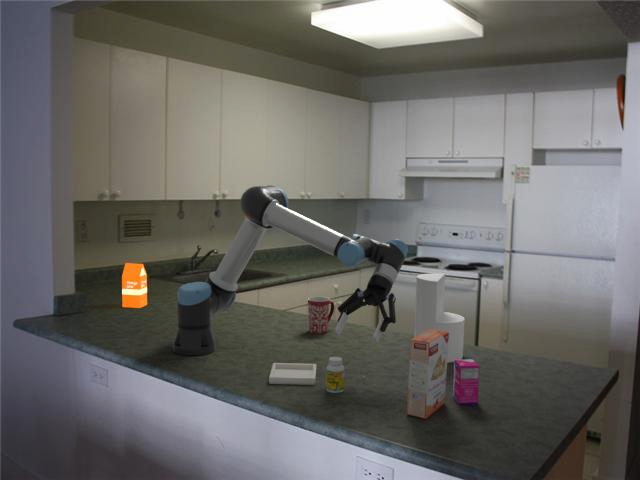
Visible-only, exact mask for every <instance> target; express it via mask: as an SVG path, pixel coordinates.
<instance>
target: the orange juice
mask: <svg viewBox="0 0 640 480" xmlns="http://www.w3.org/2000/svg"><path fill="white" fill-rule="evenodd" d="M147 278H148V275H147V271H146V269H145V266H144V263H128V262H126V263H125V264H124V268H123V271H122V275H121V288H122V290H121V295H122V299H121V300H122V305H121V306H122V308H134V309H141V308H143V307H145V306H147V305H148V279H147Z"/></svg>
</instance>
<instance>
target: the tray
mask: <svg viewBox="0 0 640 480" xmlns="http://www.w3.org/2000/svg"><path fill="white" fill-rule="evenodd" d="M270 370H271V371H270V373H269V377H268V384H270V385H274V384H275V385H303V386H304V385H305V386H309V385H310V386H316V379H317V364H316V363H300V362H299V363H297V362H296V363H292V362H291V363H290V362H289V363H287V362H273V363H272V366H271V369H270Z"/></svg>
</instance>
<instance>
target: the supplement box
mask: <svg viewBox="0 0 640 480" xmlns="http://www.w3.org/2000/svg"><path fill="white" fill-rule="evenodd" d="M452 382H453V386H452V387H453V388H452V389H453V390H452V398H453V399H454V400H455V401H456V402H457V404H458V405H459V406H461V405H463V406H468V405H470V406H471V405H474V406H475V405H476V406H477V405H479V392H480V390H479V389H480V388H479V385H480V364H478V363H477V362H476V361H475V360H474V359H473V358H471V359H470V358H469V359H466V358H465V359H461V360H454V362H453V381H452Z"/></svg>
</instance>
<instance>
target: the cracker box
mask: <svg viewBox="0 0 640 480" xmlns="http://www.w3.org/2000/svg"><path fill="white" fill-rule="evenodd" d="M448 339H449V333H448V332H445V331H439V330H433V329H430V330H428V331H426V332H424V333H423V334H421V335H419V336H417V337H415V338H414V337H413V338H411V339H410V346H409V347H410V351H409V366H408V367H409V368H408V370H409V371H408V388H407V389H408V390H407V404H406V405H407V407H406V415H408V416H412V417H415V418H419V419H424V420H427V419H428V418H429V417H430V416H431V415H433V414H434V413H435V412H437V411H438V409H440V408H441V407H442V406H443V405H445V404H446V403H445V402H446V384H447V371H448V362H447V356H448Z"/></svg>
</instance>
